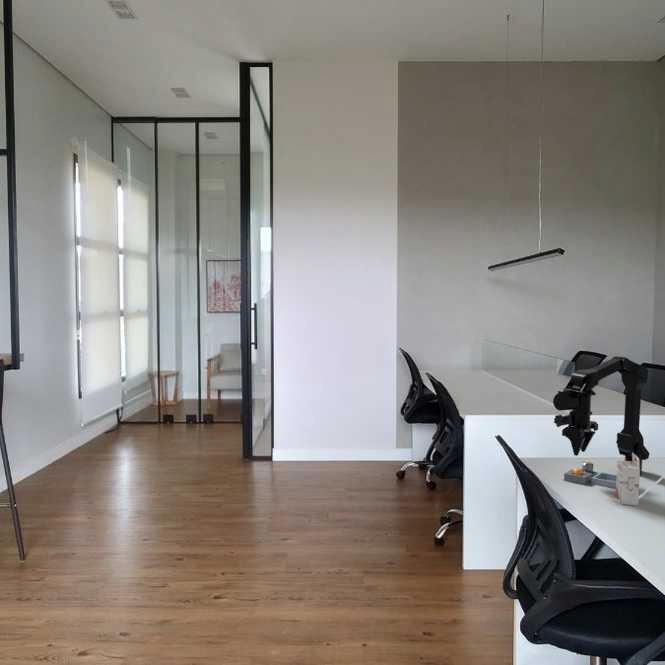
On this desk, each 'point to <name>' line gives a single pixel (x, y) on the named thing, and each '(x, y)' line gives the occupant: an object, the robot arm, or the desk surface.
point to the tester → (579, 477)
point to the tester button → (578, 471)
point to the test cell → (587, 467)
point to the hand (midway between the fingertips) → (579, 453)
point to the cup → (604, 480)
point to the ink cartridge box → (628, 481)
